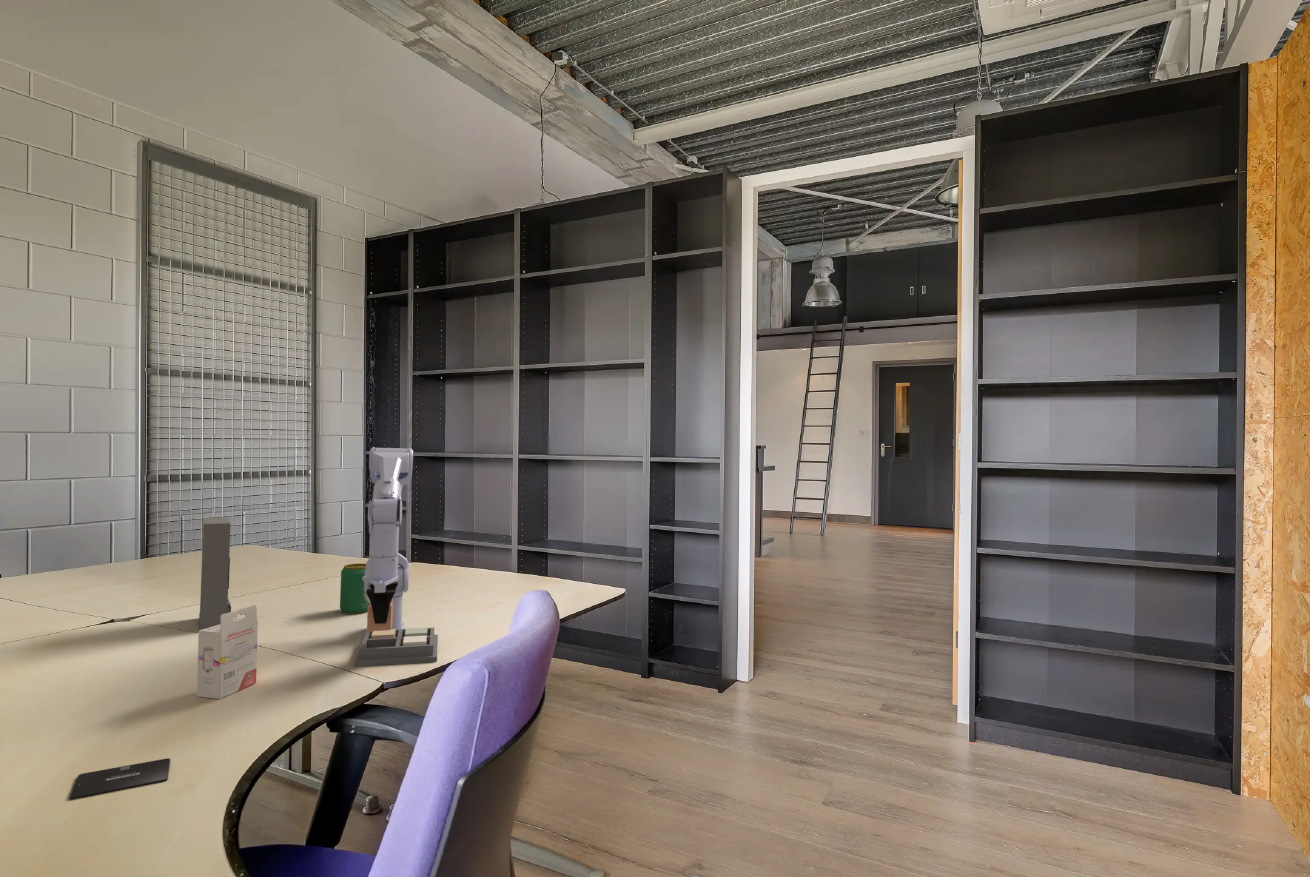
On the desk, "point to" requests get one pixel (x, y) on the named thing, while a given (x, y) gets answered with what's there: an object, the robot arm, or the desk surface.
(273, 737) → the desk surface
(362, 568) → the beverage can
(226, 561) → the tall grey upright panel
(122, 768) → the solid state drive
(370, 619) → the terracotta block
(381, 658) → the frame board
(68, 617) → the desk surface
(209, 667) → the ink cartridge box
